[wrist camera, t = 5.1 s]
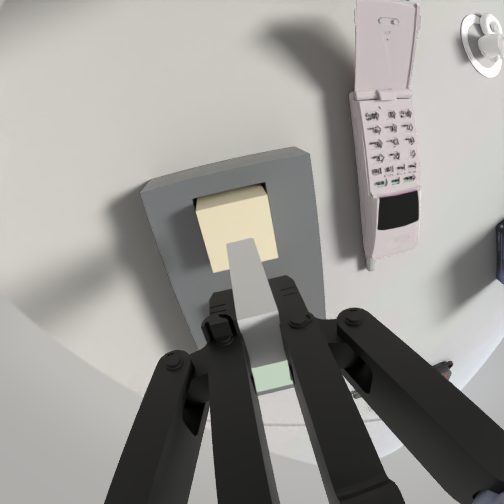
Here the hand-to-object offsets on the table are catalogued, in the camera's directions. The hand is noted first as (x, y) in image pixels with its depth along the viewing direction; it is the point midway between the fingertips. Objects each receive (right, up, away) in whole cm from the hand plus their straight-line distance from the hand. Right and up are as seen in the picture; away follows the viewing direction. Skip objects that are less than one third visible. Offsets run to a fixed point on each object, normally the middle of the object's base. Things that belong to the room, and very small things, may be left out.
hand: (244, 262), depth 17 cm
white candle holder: (+29, +25, +3) cm, 39 cm away
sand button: (-1, +4, +7) cm, 8 cm away
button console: (0, -3, +12) cm, 12 cm away
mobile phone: (+12, +11, +8) cm, 17 cm away
